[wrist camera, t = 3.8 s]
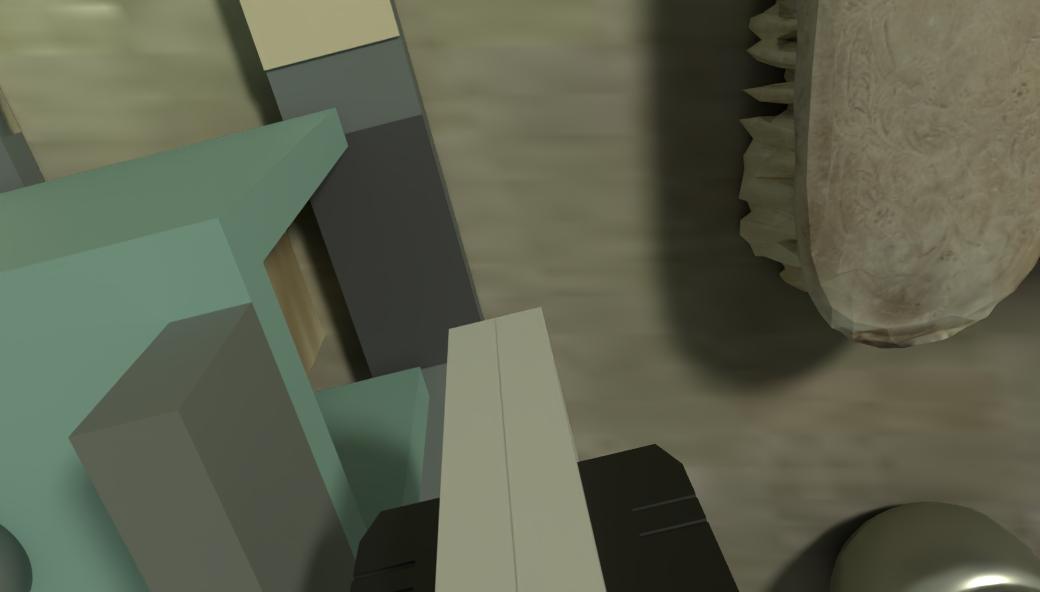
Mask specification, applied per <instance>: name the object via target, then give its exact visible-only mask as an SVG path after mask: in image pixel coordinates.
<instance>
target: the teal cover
mask: <svg viewBox="0 0 1040 592" xmlns="http://www.w3.org/2000/svg"><path fill="white" fill-rule="evenodd" d="M347 147H348V144H347V141H346V138H345V135H344V132H343V129H342V126H341V122H340V119H339V116H338V113H337V110H336V108H332V109H328V110H324V111H320V112H316V113H312V114H308V115H304V116H301V117H297V118H293V119H289V120H285V121H281V122H277V123H273V124H269V125H265V126H262V127H258V128H254V129H250V130H246V131H242V132H238V133H234V134H230V135H226V136H223V137H219V138H215V139H211V140H207V141H203V142H199V143H195V144H191V145H187V146H184V147H180V148H176V149H172V150H168V151H164V152H160V153H156V154H152V155H148V156H145V157H141V158H137V159H133V160H129V161H125V162H121V163H117V164H113V165H109V166H106V167H102V168H98V169H94V170H90V171H86V172H82V173H78V174H74V175H71V176H67V177H63V178H59V179H55V180H51V181H47V182H43V183H39V184H35V185H32V186H28V187H24V188H20V189H16V190H12V191H8V192H4V193H0V592H350V588H351V582H352V581H354V577H353V572H354V567H355V562H356V556H357V551H358V546H359V542H360V541H361V539H362V538H363V536H364V535H365V533H366V532H367V530H368V529H369V527H370V526H371V524H372V523H373V522H374V520H375V519H376V517H377V516H378V514H379V513H380V511H384V510H388V509H393V508H397V507H401V506H405V505H410V504H414V503H418V502H419V500H420V490H421V479H422V469H423V459H424V448H425V438H426V427H427V417H428V406H429V393H428V390H427V387H426V384H425V381H424V378H423V375H422V372H421V369H420V367H416V368H412V369H408V370H404V371H400V372H396V373H392V374H387V375H383V376H379V377H375V378H371V379H367V380H363V381H359V382H355V383H351V384H347V385H342V386H338V387H334V388H330V389H326V390H322V391H318V392H314V393H313V390H312V387H311V385H310V382H309V380H308V377H307V375H306V372H305V369H304V367H303V364H302V362H301V359H300V357H299V354H298V351H297V349H296V346H295V344H294V341H293V339H292V336H291V333H290V331H289V328H288V326H287V323H286V320H285V318H284V315H283V313H282V310H281V308H280V305H279V302H278V300H277V297H276V295H275V292H274V290H273V287H272V284H271V282H270V279H269V277H268V274H267V272H266V269H265V266H264V264H263V261H264V260H265V258H266V257H267V256H268V254H269V253H270V252H271V250H272V249H273V247H274V246H275V245H276V243H277V242H278V241H279V239H280V238H281V237H282V235H283V234H284V233H285V231H286V230H287V228H288V227H289V226H290V224H291V223H292V222H293V220H294V219H295V218H296V216H297V215H298V214H299V212H300V211H301V209H302V208H303V207H304V205H305V204H306V203H307V201H308V200H309V199H310V197H311V196H312V195H313V193H314V192H315V191H316V189H317V188H318V186H319V185H320V184H321V182H322V181H323V180H324V178H325V177H326V176H327V174H328V173H329V172H330V170H331V169H332V167H333V166H334V165H335V163H336V162H337V161H338V159H339V158H340V157H341V155H342V154H343V153H344V151H345V150H346V148H347Z"/></svg>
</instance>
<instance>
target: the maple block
mask: <svg viewBox="0 0 1040 592" xmlns="http://www.w3.org/2000/svg"><path fill="white" fill-rule="evenodd" d="M263 264H264V266H265V269H266V272H267V274H268V277H269V279H270V282H271V284H272V287H273V290H274V292H275V295H276V297H277V300H278V302H279V305H280V308H281V310H282V313H283V315H284V318H285V320H286V323H287V326H288V328H289V331H290V333H291V336H292V339H293V341H294V344H295V346H296V349H297V351H298V354H299V357H300V359H301V362H302V364H303V367H304V369H305V372H306V375H307V377H308V376H309V374H310V371H311V369H312V366H313V364H314V362H315V359H316V357H317V354H318V352H319V349H320V347H321V345H322V342H323V340H324V337H325V335H324V332H323V330H322V327H321V324H320V321H319V319H318V316H317V313H316V311H315V308H314V305H313V303H312V300H311V297H310V294H309V292H308V289H307V286H306V284H305V281H304V278H303V276H302V273H301V270H300V267H299V265H298V262H297V259H296V257H295V254H294V251H293V249H292V246H291V243H290V240H289V238H288V235H287V232H286V231H285V233H284V234H283V235H282V237H281V238H280V239H279V241H278V242H277V243H276V245H275V246H274V247H273V249H272V250H271V252H270V253H269V254H268V256H267V257H266V258H265V260H264V261H263Z"/></svg>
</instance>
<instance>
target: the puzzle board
mask: <svg viewBox="0 0 1040 592" xmlns="http://www.w3.org/2000/svg"><path fill="white" fill-rule="evenodd" d="M240 3H241V6H242V9H243V12H244V15H245V18H246V20H247V23H248V26H249V29H250V32H251V35H252V37H253V40H254V43H255V46H256V49H257V52H258V54H259V57H260V60H261V63H262V66H263V69H264V71H266V74H267V76H268V79H269V82H270V85H271V88H272V91H273V94H274V96H275V99H276V102H277V105H278V108H279V111H280V113H281V116H282V119H283V121H285V120H289V119H293V118H297V117H301V116H304V115H308V114H312V113H316V112H320V111H324V110H328V109H332V108H336V110H337V113H338V116H339V119H340V122H341V126H342V129H343V132H344V135H345V138H346V141H347V144H348V147H347V148H346V150H345V151H344V153H343V154H342V155H341V157H340V158H339V159H338V161H337V162H336V163H335V165H334V166H333V167H332V169H331V170H330V172H329V173H328V174H327V176H326V177H325V178H324V180H323V181H322V182H321V184H320V185H319V186H318V188H317V189H316V191H315V192H314V193H313V195H312V196H311V197H310V202H311V205H312V208H313V210H314V213H315V216H316V219H317V222H318V225H319V227H320V230H321V233H322V236H323V239H324V242H325V244H326V247H327V250H328V253H329V256H330V259H331V261H332V264H333V267H334V270H335V273H336V276H337V278H338V281H339V284H340V287H341V290H342V293H343V295H344V298H345V301H346V304H347V307H348V310H349V312H350V315H351V318H352V321H353V324H354V327H355V330H356V332H357V335H358V338H359V341H360V344H361V347H362V349H363V352H364V355H365V358H366V361H367V364H368V366H369V369H370V372H371V375H372V378H375V377H379V376H383V375H387V374H392V373H396V372H400V371H404V370H408V369H412V368H416V367H420V369H421V372H422V375H423V378H424V381H425V384H426V387H427V390H428V393H429V406H428V417H427V427H426V438H425V448H424V459H423V469H422V479H421V490H420V500H419V502H423V501H427V500H431V499H435V498H440V489H441V470H442V451H443V432H444V413H445V394H446V375H447V356H448V337H449V329H452V328H456V327H460V326H464V325H468V324H472V323H476V322H481V321H484V318H483V314H482V311H481V307H480V304H479V300H478V297H477V293H476V290H475V286H474V282H473V279H472V275H471V272H470V268H469V265H468V261H467V258H466V254H465V251H464V247H463V244H462V240H461V236H460V233H459V229H458V226H457V222H456V219H455V215H454V212H453V208H452V205H451V201H450V198H449V194H448V190H447V187H446V183H445V180H444V176H443V173H442V169H441V166H440V162H439V159H438V155H437V152H436V148H435V144H434V141H433V137H432V134H431V130H430V127H429V123H428V120H427V116H426V113H425V109H424V106H423V102H422V98H421V95H420V91H419V88H418V84H417V81H416V77H415V74H414V70H413V67H412V63H411V60H410V56H409V52H408V49H407V45H406V42H405V38H404V35H403V31H402V28H401V24H400V21H399V17H398V14H397V10H396V6H395V3H394V0H240ZM43 182H45V180H44V178H43V176H42V174H41V172H40V170H39V167H38V165H37V163H36V161H35V159H34V157H33V155H32V153H31V151H30V149H29V147H28V145H27V142H26V140H25V138H24V136H23V134H22V132H21V130H20V128H19V126H18V124H17V122H16V120H15V117H14V115H13V113H12V111H11V109H10V107H9V105H8V103H7V101H6V99H5V97H4V95H3V92H2V90H1V88H0V193H4V192H8V191H12V190H16V189H20V188H24V187H28V186H32V185H35V184H39V183H43Z"/></svg>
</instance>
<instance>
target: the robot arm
mask: <svg viewBox="0 0 1040 592" xmlns="http://www.w3.org/2000/svg"><path fill="white" fill-rule="evenodd" d="M353 577H354V581H352V582H351V588H350V592H739V590H738V588H737V586H736V583H735V581H734V579H733V577H732V574H731V572H730V570H729V568H728V565H727V563H726V561H725V559H724V556H723V554H722V552H721V550H720V547H719V545H718V543H717V541H716V539H715V536H714V534H713V532H712V530H711V527H710V525H709V523H708V522H707V520H706V516H705V514H704V512H703V509H702V507H701V505H700V503H699V500H698V498H696V495H695V491H694V489H693V487H692V485H691V482H690V480H689V478H688V476H687V473H686V471H685V469H684V467H683V464H682V463H680V462H679V461H678V460H676V459H675V458H674V457H672V456H671V455H670V454H668V453H667V452H666V451H664V450H663V449H662V448H660V447H659V446H657V445H656V444H653V445H649V446H644V447H640V448H636V449H632V450H627V451H623V452H619V453H615V454H610V455H606V456H602V457H598V458H593V459H589V460H585V461H580V462H579V461H578V456H577V452H576V448H575V444H574V440H573V436H572V431H571V427H570V423H569V419H568V415H567V411H566V407H565V403H564V399H563V395H562V391H561V387H560V382H559V378H558V374H557V370H556V366H555V362H554V358H553V354H552V350H551V346H550V342H549V337H548V333H547V329H546V325H545V321H544V317H543V313H542V309H541V307H539V308H535V309H530V310H526V311H522V312H518V313H514V314H510V315H505V316H501V317H497V318H493V319H489V320H485V321H481V322H476V323H472V324H468V325H464V326H460V327H456V328H452V329H449V337H448V356H447V375H446V394H445V413H444V432H443V451H442V470H441V489H440V498H435V499H431V500H427V501H423V502H418V503H414V504H410V505H405V506H401V507H397V508H393V509H388V510H384V511H380V513H379V514H378V516H377V517H376V519H375V520H374V522H373V523H372V524H371V526H370V527H369V529H368V530H367V532H366V533H365V535H364V536H363V538H362V539H361V541H360V542H359V546H358V551H357V556H356V562H355V567H354V572H353Z"/></svg>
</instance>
